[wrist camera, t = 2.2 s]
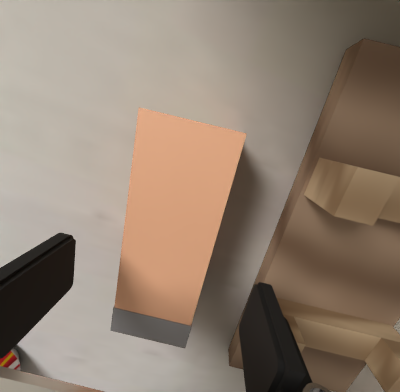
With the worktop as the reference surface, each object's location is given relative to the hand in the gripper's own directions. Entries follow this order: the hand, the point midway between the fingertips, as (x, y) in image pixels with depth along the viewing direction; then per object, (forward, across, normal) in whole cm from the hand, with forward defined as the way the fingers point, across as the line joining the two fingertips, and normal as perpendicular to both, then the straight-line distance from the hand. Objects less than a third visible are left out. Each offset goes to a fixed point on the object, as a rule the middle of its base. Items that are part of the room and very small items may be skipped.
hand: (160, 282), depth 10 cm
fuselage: (+6, 0, -1) cm, 7 cm away
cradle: (+6, -13, -1) cm, 14 cm away
